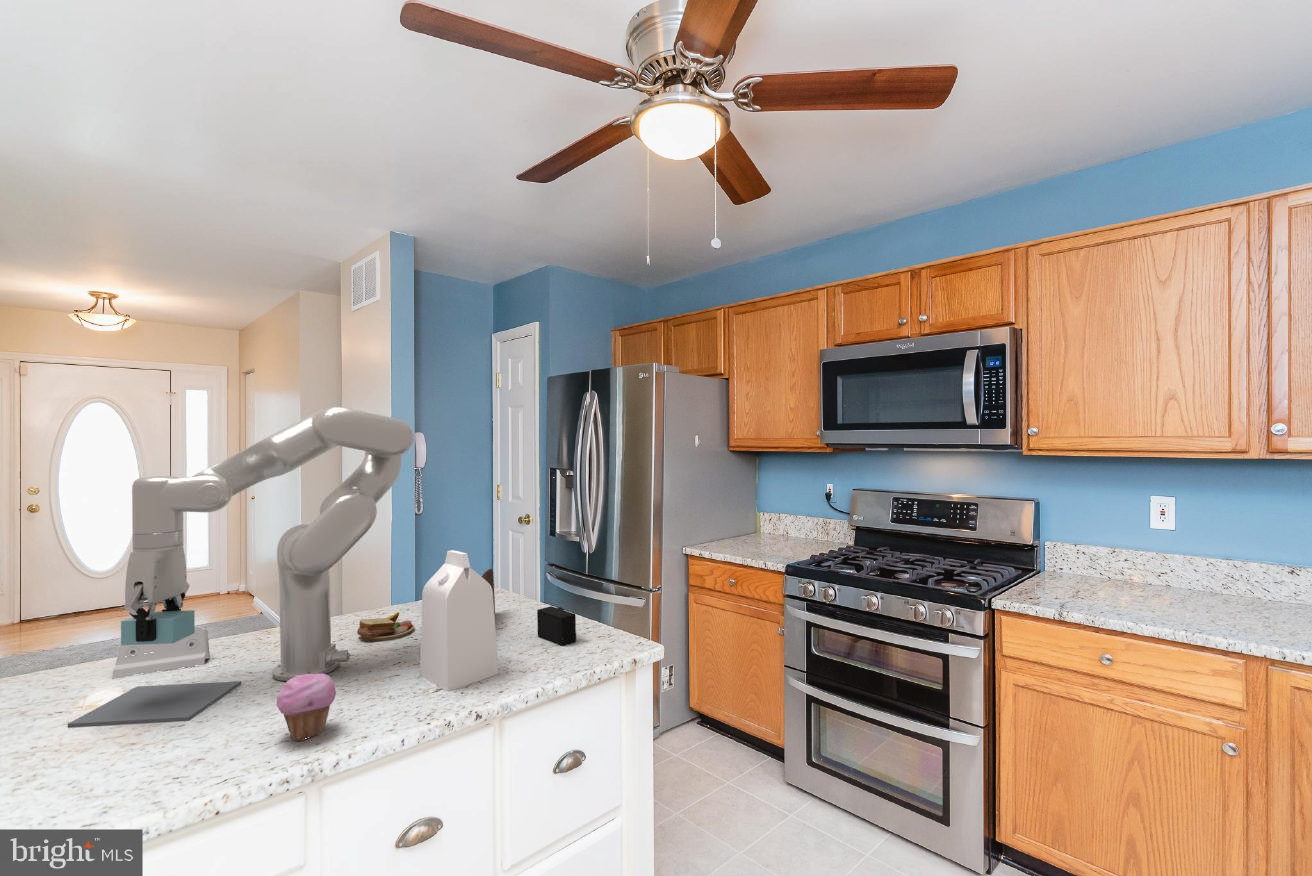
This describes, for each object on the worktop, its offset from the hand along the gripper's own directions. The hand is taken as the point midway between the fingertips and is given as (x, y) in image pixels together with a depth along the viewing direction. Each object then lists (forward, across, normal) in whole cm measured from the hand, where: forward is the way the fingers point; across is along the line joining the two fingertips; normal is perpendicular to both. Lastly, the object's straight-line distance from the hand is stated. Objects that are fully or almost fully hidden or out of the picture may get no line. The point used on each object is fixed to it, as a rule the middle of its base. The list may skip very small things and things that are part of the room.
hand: (159, 634), depth 115 cm
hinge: (+14, -21, -13) cm, 29 cm away
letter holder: (+13, -42, +49) cm, 66 cm away
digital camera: (+13, -27, +74) cm, 80 cm away
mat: (+13, 0, 0) cm, 13 cm away
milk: (+13, -7, +54) cm, 56 cm away
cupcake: (+14, +16, +34) cm, 40 cm away
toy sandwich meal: (+14, -37, +29) cm, 49 cm away
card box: (+1, 0, 0) cm, 1 cm away
